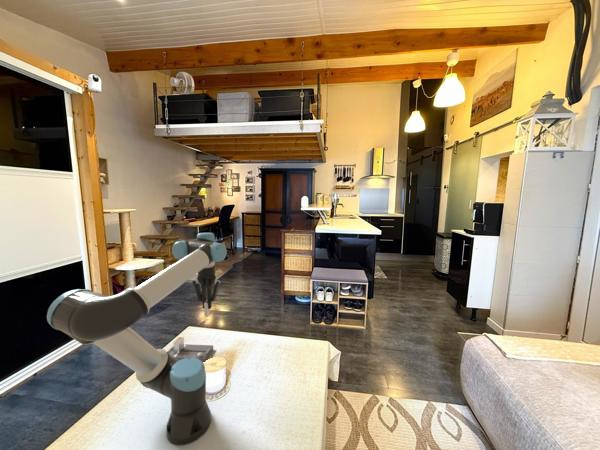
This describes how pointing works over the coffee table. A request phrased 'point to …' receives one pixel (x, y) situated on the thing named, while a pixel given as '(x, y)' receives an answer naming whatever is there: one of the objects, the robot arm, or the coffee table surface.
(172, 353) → the console
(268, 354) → the coffee table surface
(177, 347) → the fader
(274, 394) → the coffee table surface
